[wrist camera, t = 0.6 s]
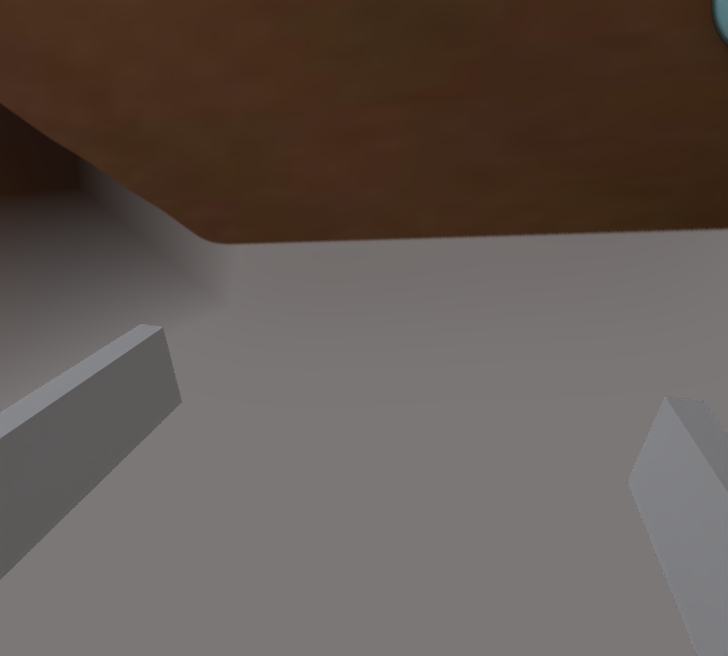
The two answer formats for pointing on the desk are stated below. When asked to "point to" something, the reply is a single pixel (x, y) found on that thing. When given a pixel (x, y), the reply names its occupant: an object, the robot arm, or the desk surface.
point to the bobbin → (721, 18)
